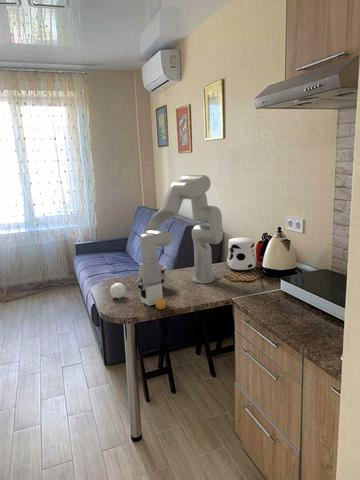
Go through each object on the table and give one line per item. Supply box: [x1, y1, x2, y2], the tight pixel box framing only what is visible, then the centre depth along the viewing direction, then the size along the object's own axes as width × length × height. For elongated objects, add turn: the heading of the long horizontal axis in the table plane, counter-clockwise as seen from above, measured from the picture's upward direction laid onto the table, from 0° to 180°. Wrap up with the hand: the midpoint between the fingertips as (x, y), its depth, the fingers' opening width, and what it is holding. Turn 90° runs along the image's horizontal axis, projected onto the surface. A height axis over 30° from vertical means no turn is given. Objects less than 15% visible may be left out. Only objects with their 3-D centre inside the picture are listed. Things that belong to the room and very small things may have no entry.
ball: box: [155, 298, 167, 311], centre depth 168 cm, size 5×5×5 cm
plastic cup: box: [159, 263, 167, 287], centre depth 197 cm, size 11×11×12 cm
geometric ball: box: [109, 282, 126, 300], centre depth 185 cm, size 8×8×8 cm
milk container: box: [226, 237, 257, 272], centre depth 223 cm, size 17×17×18 cm
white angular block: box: [139, 282, 164, 307], centre depth 175 cm, size 8×8×9 cm
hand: (151, 295), depth 175 cm, fingers closed on white angular block, 7 cm apart
